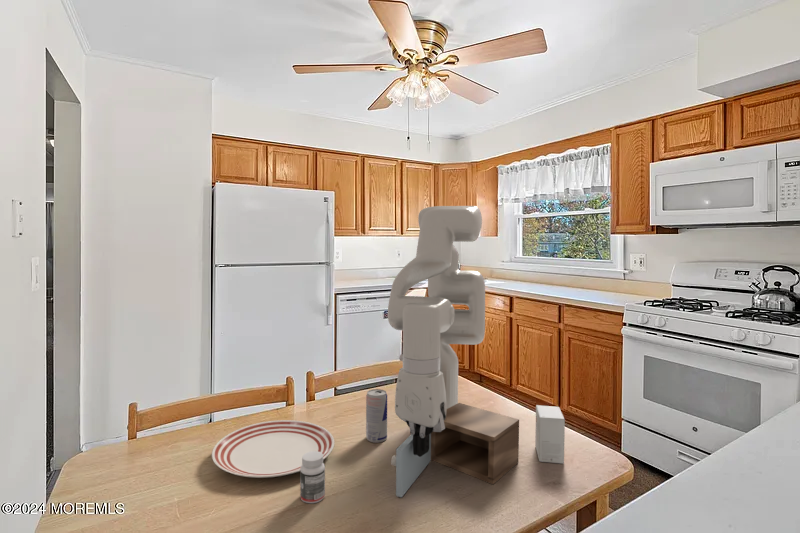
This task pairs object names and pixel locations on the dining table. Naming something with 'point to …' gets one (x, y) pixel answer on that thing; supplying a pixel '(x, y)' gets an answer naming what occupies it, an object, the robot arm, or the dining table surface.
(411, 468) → the side door
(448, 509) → the dining table surface
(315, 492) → the pill bottle
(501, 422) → the cabinet
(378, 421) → the energy drink
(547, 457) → the small box
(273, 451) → the dinner plate
